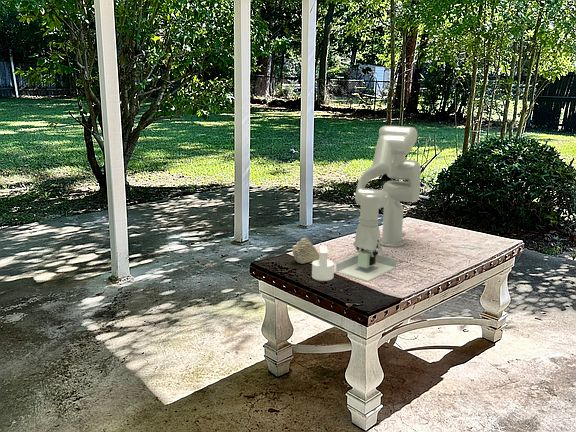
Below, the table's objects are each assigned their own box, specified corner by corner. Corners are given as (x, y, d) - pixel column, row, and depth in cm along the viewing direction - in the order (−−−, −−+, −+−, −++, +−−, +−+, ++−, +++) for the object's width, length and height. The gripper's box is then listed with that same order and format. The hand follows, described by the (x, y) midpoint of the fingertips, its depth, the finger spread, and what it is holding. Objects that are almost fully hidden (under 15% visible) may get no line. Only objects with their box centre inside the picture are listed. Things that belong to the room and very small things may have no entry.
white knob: (311, 272, 230) (312, 245, 227) (333, 273, 230) (333, 246, 226) (312, 280, 221) (312, 252, 218) (334, 281, 221) (335, 253, 218)
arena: (365, 259, 246) (365, 250, 245) (396, 268, 236) (396, 259, 235) (336, 272, 230) (336, 263, 229) (367, 281, 220) (368, 272, 219)
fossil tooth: (321, 262, 246) (296, 266, 236) (312, 258, 250) (287, 262, 241) (325, 238, 243) (299, 241, 233) (315, 234, 248) (290, 237, 238)
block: (357, 265, 232) (358, 252, 230) (366, 261, 237) (367, 248, 235) (366, 268, 229) (367, 254, 227) (375, 264, 234) (376, 250, 232)
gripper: (347, 220, 230) (345, 260, 235) (381, 228, 220) (378, 270, 224) (357, 217, 236) (355, 256, 241) (391, 224, 225) (388, 265, 230)
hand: (366, 262), depth 232 cm, fingers closed on block, 4 cm apart
